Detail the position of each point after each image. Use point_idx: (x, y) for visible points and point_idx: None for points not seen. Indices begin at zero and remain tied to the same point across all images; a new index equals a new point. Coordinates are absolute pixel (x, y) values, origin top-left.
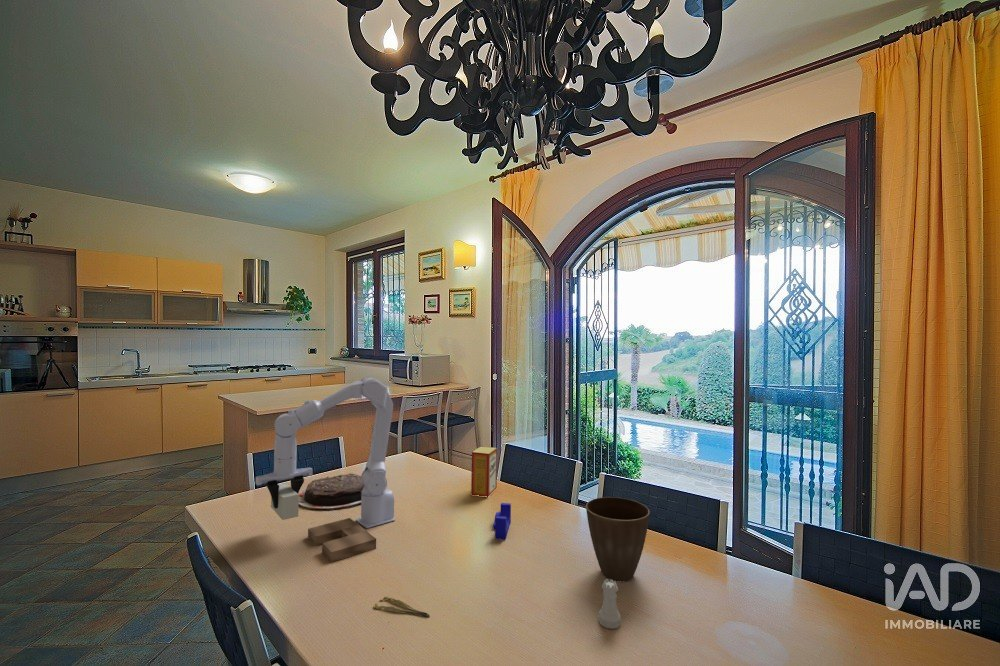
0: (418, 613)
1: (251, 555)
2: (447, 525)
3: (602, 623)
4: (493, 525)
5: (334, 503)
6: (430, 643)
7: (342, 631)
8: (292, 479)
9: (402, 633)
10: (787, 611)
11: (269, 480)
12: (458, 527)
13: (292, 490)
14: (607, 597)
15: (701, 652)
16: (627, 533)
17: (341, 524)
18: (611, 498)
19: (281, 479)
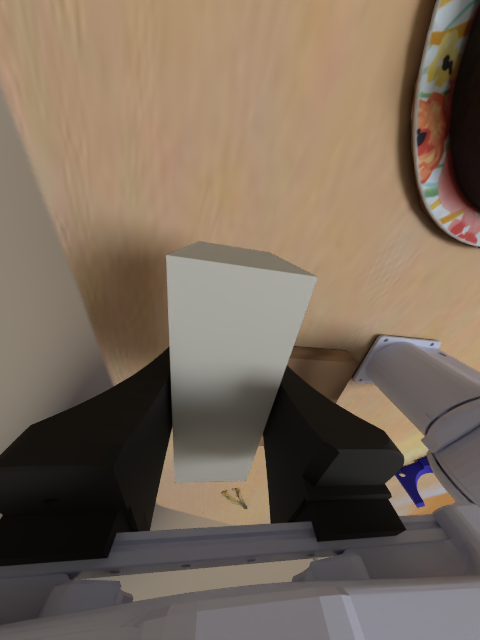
0: (242, 506)
1: (137, 343)
2: (413, 431)
3: None
4: (423, 465)
5: (470, 188)
6: (228, 517)
7: (188, 498)
8: (297, 487)
9: (221, 510)
10: None
11: (16, 590)
12: (411, 440)
13: (254, 436)
14: (313, 559)
15: None
16: None
17: (322, 380)
18: None
19: (177, 551)
